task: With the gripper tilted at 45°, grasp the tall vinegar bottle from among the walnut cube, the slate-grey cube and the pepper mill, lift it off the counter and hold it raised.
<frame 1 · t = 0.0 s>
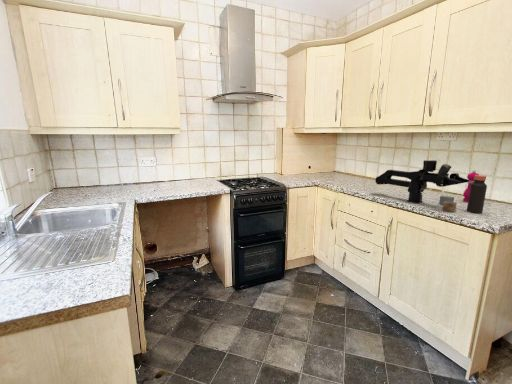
hand: (464, 181, 144), 17 cm above the worktop, tool horizontal, fingers open, 9 cm apart
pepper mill: (469, 201, 168), on the worktop
vinegar: (474, 212, 146), on the worktop
slate cube: (445, 204, 162), on the worktop
walnut cube: (448, 211, 148), on the worktop
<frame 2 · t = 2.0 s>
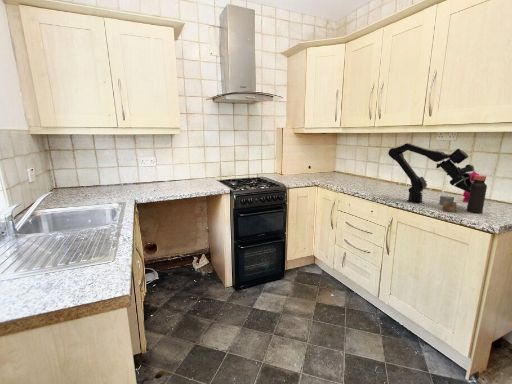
hand: (472, 190, 146), 11 cm above the worktop, tool tilted 45°, fingers open, 9 cm apart
nothing on the worktop moved.
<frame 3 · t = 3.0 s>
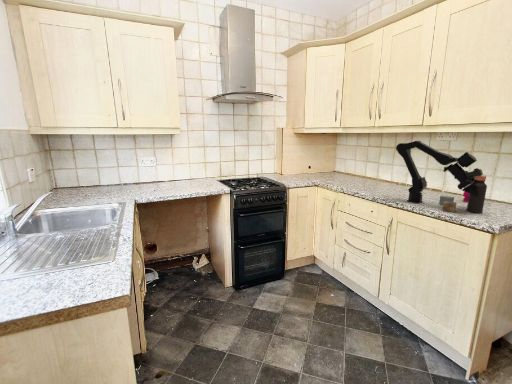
hand: (480, 195, 143), 10 cm above the worktop, tool tilted 45°, fingers open, 9 cm apart
nothing on the worktop moved.
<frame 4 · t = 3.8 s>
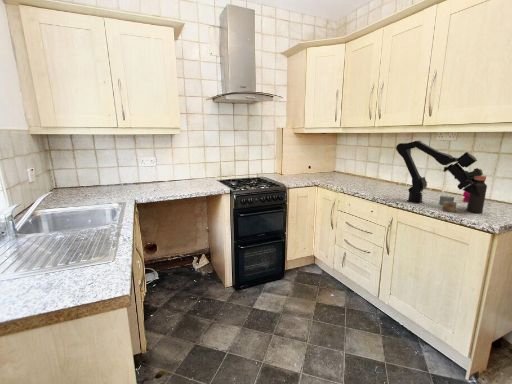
hand: (480, 195, 143), 10 cm above the worktop, tool tilted 45°, fingers closed on vinegar, 6 cm apart
vinegar: (474, 212, 146), on the worktop, touching gripper
everything else where it was.
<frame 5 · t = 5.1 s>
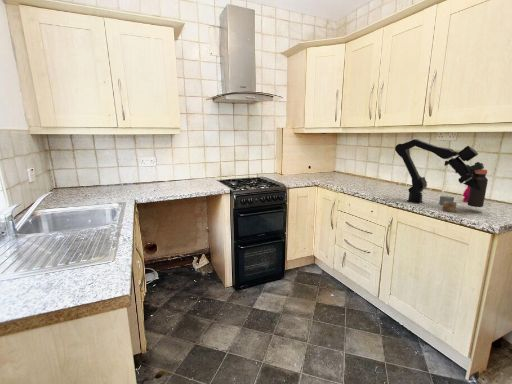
hand: (481, 189, 143), 13 cm above the worktop, tool tilted 45°, fingers closed on vinegar, 6 cm apart
vinegar: (474, 206, 146), point 3 cm above the worktop, touching gripper
everything else where it was.
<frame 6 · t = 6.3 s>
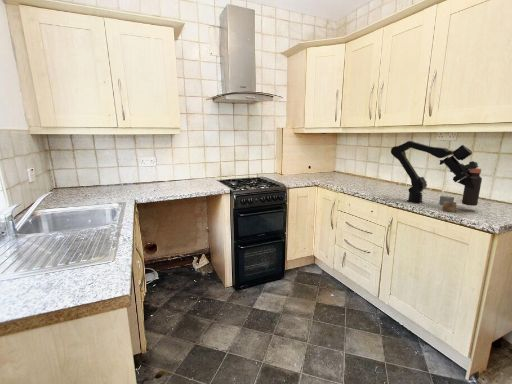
hand: (475, 187, 144), 13 cm above the worktop, tool tilted 45°, fingers closed on vinegar, 6 cm apart
vinegar: (469, 204, 148), point 3 cm above the worktop, touching gripper
everything else where it was.
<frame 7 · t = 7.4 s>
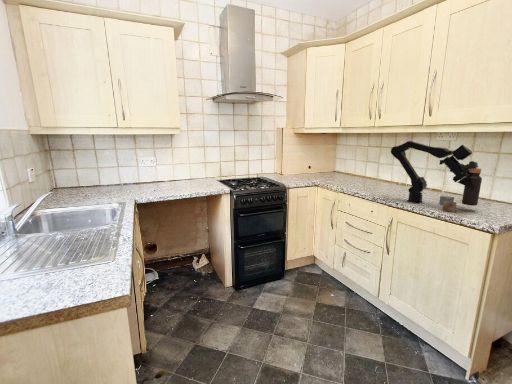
hand: (475, 187, 144), 13 cm above the worktop, tool tilted 45°, fingers closed on vinegar, 6 cm apart
vinegar: (469, 204, 148), point 4 cm above the worktop, touching gripper
everything else where it was.
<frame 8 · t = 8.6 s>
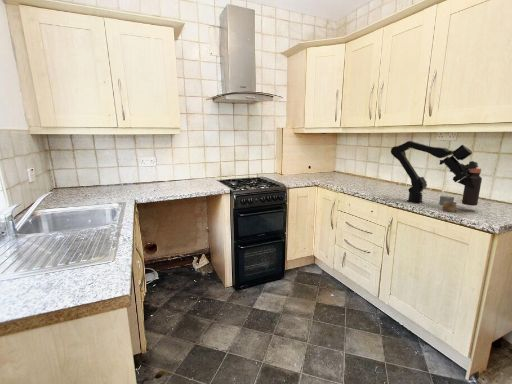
hand: (475, 187, 144), 13 cm above the worktop, tool tilted 45°, fingers closed on vinegar, 6 cm apart
vinegar: (469, 204, 148), point 4 cm above the worktop, touching gripper
everything else where it was.
at the end: the gripper is holding vinegar; vinegar point 3.5 cm above the worktop; walnut cube moved 0.1 cm from its start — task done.
